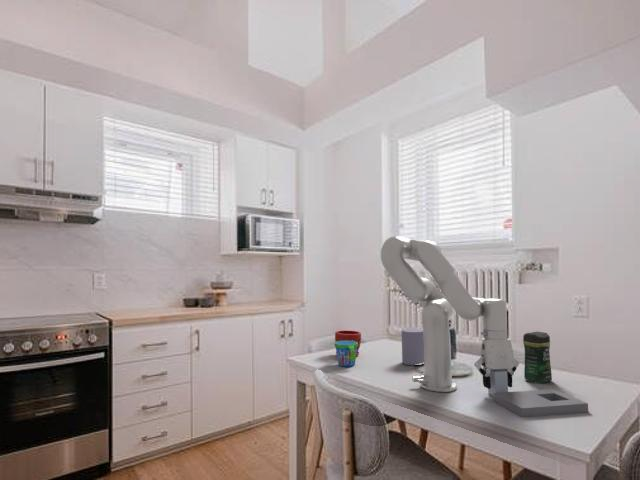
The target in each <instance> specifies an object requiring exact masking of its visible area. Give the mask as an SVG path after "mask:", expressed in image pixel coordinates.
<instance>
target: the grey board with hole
mask: <svg viewBox="0 0 640 480" xmlns="http://www.w3.org/2000/svg"><path fill="white" fill-rule="evenodd" d="M492 397H493V402H494V403H496V404H498V405H500V406H503V408H505V409H507V410H509V411H511V412H513V413H515V414H516V415H518V416H519V417H521V418H526V417H527V418H528V417H541V416H553V415H565V414H567V415H569V414H577V413H578V414H579V413H589V403H588V402H586V401H583V400H581V399H578V398H576V397H574V396H571V395H569V394H566V393H564V392H561V391H559V390H557V389H554V388H549V389H536V390H534V389H533V390H518V391H508V392H501V393H493V396H492Z"/></svg>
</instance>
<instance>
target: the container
mask: <svg viewBox="0 0 640 480" xmlns="http://www.w3.org/2000/svg"><path fill="white" fill-rule="evenodd" d="M401 358H402V360H401V361H402V364H404V365H405V366H410V367H415V366H414V365H415V364H419V363H423V362H424V337H423V329H421V328H403V329H401Z"/></svg>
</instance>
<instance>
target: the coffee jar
mask: <svg viewBox="0 0 640 480" xmlns="http://www.w3.org/2000/svg"><path fill="white" fill-rule="evenodd" d="M550 337H551V336H550V335H549V334H548V333H547V332H544V331H533V332H526V333H525V334H523V337H522V340H523V341H522V342H523V347H524V372H523V373H524V379H525V380H527V381H528V382H530V383H533V384H535V383H537V384H547V383H550V382H552V380H553V376H552V375H553V374H552V366H551V356H550V349H551V348H550V347H551V339H550Z"/></svg>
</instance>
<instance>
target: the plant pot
mask: <svg viewBox="0 0 640 480" xmlns="http://www.w3.org/2000/svg"><path fill="white" fill-rule="evenodd" d="M334 341H335V342H338V341H355V342H357V343H358V346H357V351H356V357H358V356H359V355H360V352H359V349H360V347H361V341H362V333H361V332H360V331H356V330H337V331H334ZM335 342H334V343H335ZM335 354H336V355H337V352H336V351H335Z"/></svg>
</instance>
